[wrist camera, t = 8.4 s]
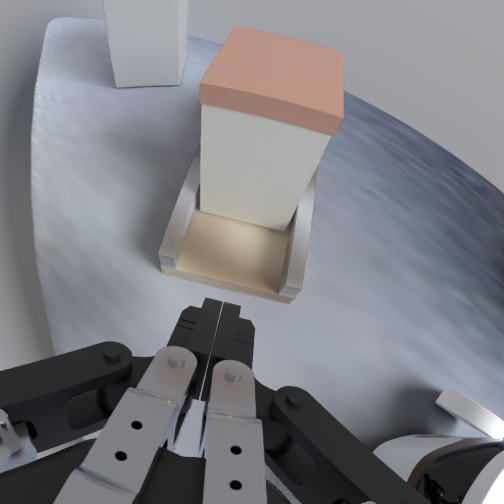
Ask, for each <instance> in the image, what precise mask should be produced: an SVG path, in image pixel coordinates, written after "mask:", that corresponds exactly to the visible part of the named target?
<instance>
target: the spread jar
mask: <svg viewBox="0 0 504 504" xmlns="http://www.w3.org/2000/svg"><path fill="white" fill-rule="evenodd" d="M435 403H436V404H438V405H439V406H440V407H442V408H443V409H444V410H446V411H447V412H449V413H450V414H452V415H453V416H455V417H456V418H458V419H459V420H461V421H462V422H464V423H465V424H467V425H468V426H470V427H471V428H473V429H475V430H476V431H478V432H479V433H481V434H483V435H484V436H486V437H488V438H471V437H456V436H443V435H424V434H419V435H407V436H402V437H398V438H394V439H391V440H388V441H386V442H384V443H382V444H380V445H379V446H378V447H377V448H376V449H375V450H374V451H373V452H372V453H374V454H375V455H376V456H377V457H378V458H379V459H380V460H382V461H383V462H384V463H385V464H386V465H387V466H388V467H390V468H391V469H392V470H393V471H394V472H395V473H397V474H398V475H399V476H400V477H401V478H402V479H404V480H405V481H406V482H407V483H408V484H410V485H411V486H412V487H413V488H414V489H416V490H417V491H418V492H419V493H420V494H422V495H423V496H424V497H425V498H426V499H428V500H429V502H430V503H431V504H504V440H503V439H502V438H503V436H504V421H502V420H501V419H500V418H498V417H497V416H496V415H494V414H493V413H491V412H490V411H488V410H487V409H485V408H484V407H482V406H480V405H479V404H477V403H476V402H474V401H472V400H470V399H469V398H467V397H465V396H463V395H462V394H460V393H458V392H456V391H454V390H452V389H449V388H444V390H443V391H442V393H441V394H440V396H439V397H438V399H437V400H436V402H435Z"/></svg>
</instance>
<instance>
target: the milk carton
mask: <svg viewBox="0 0 504 504" xmlns="http://www.w3.org/2000/svg"><path fill="white" fill-rule="evenodd" d="M103 9H104V17H105V24H106V31H107V38H108V45H109V51H110V57H111V63H112V68H113V74H114V79H115V84H116V88H122V87H138V86H163V85H180V84H181V80H182V75H183V70H184V65H185V60H186V55H187V26H188V0H103Z"/></svg>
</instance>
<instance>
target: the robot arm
mask: <svg viewBox="0 0 504 504" xmlns="http://www.w3.org/2000/svg"><path fill="white" fill-rule="evenodd" d="M221 306H222V301H218V300H214V299H210V298H205V300H204V303H203V305H202V308H197V307H194V306H189V307H188V308H186V309H185V310H183V311H182V313H181V315H180V318H179V320H178V322H177V324H176V326H175V329H174V331H173V333H172V335H171V337H170V340H169V342H168V344H167V346H166V347H165V348H162V349H161V350H159V351H158V353H157V354H156V356H152V357H134V356H132V353H131V351H130V349H129V348H128V347H126V346H125V345H123V344H121V343H118V342H112V341H108V342H102V343H99V344H96V345H92V346H89V347H86V348H82V349H79V350H75V351H72V352H68V353H65V354H61V355H58V356H54V357H51V358H47V359H44V360H40V361H37V362H33V363H29V364H26V365H22V366H18V367H14V368H11V369H7V370H3V371H0V504H291V503H290V502H289V500H288V499H287V498H286V497H285V496H284V494H283V493H282V492H281V491H280V490H279V489H278V488H277V487H276V486H275V485H273V484H272V483H271V482H269V481H268V480H266V479H265V463H266V464H267V466H268V467H269V468H270V469H271V470H272V471H273V473H274V474H275V475H276V476H277V477H278V478H279V479H280V480H281V482H282V483H283V484H284V485H285V486H286V487H287V488H288V489H289V491H290V492H291V493H292V494H293V495H294V496H295V497H296V498H297V499H298V500H299V501H300V502H301V503H302V504H431V503H430V502H429V500H428V499H426V498H425V497H424V496H423V495H422V494H420V493H419V492H418V491H417V490H416V489H414V488H413V487H412V486H411V485H410V484H408V483H407V482H406V481H405V480H404V479H402V478H401V477H400V476H399V475H398V474H397V473H395V472H394V471H393V470H392V469H391V468H390V467H388V466H387V465H386V464H385V463H384V462H383V461H382V460H380V459H379V458H378V457H377V456H376V455H375V454H374V453H372V452H371V451H370V450H369V449H368V448H367V447H366V446H365V445H364V444H362V443H361V442H360V441H359V440H358V439H357V438H356V437H355V436H354V435H353V434H351V433H350V432H349V431H348V430H347V429H346V428H345V427H344V426H343V425H342V424H341V423H340V422H338V421H337V420H336V419H335V418H334V417H333V416H332V415H331V414H330V413H329V412H328V411H327V410H326V409H325V408H324V407H323V406H322V405H321V404H319V403H318V402H317V401H316V400H315V399H314V398H313V397H312V396H311V395H310V394H309V393H308V392H306V391H305V390H303V389H301V388H298V387H294V386H285V387H282V388H280V389H278V390H277V391H274V390H272V389H270V388H268V387H266V386H264V385H262V384H261V383H260V382H258V381H257V380H256V378H255V377H254V374H253V371H252V361H253V348H254V335H255V328H254V326H253V324H252V322H251V320H247V319H243V318H239V315H240V308H241V306H239V305H235V304H231V303H226V302H224V304H223V307H222V311H221V315H220V310H221ZM219 315H220V319H219ZM218 319H219V323H218ZM217 324H218V327H217ZM216 328H217V331H216ZM215 332H216V335H215ZM214 337H215V339H214ZM213 341H214V343H213ZM212 345H213V346H212ZM211 349H212V350H211ZM210 353H211V354H210ZM209 357H210V359H209ZM208 361H209V363H208ZM207 365H208V368H207ZM206 369H207V372H206ZM205 373H206V377H205V382H204V386H203V391H202V395H201V401H205V406H204V411H203V415H202V420H201V429H200V437H199V446H198V455H197V457H183V456H180V455H178V454H176V453H174V449H175V446H176V444H177V441H178V439H179V436H180V433H181V431H182V428H183V425H184V423H185V420H186V418H187V415H188V411H189V409H190V407H191V404H192V401H193V399H196V400H199V396H200V392H201V388H202V384H203V380H204V376H205ZM93 390H94V391H93ZM90 391H91V392H90ZM87 392H88V393H87ZM79 395H80V396H79ZM76 396H77V397H76ZM73 397H74V398H73ZM101 429H103V430H102V431H101V433H100V435H99V436H98V438H94V439H89V440H85V441H82V442H80V443H77V444H75V445H73V446H70V447H68V448H65V449H63V450H60V451H58V452H56V453H53V454H51V455H48V456H45V457H43V458H40V459H38V460H36V457H37V453H39V452H42V451H45V450H48V449H51V448H54V447H56V446H59V445H62V444H64V443H67V442H70V441H73V440H75V439H78V438H80V437H83V436H86V435H88V434H91V433H93V432H96V431H98V430H101Z"/></svg>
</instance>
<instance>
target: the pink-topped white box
mask: <svg viewBox="0 0 504 504" xmlns="http://www.w3.org/2000/svg"><path fill="white" fill-rule="evenodd" d="M199 103H200V104H202V113H201V157H200V211H202V212H206V213H211V214H215V215H219V216H223V217H227V218H231V219H235V220H240V221H244V222H248V223H252V224H256V225H260V226H264V227H268V228H272V229H276V230H280V231H284V232H285V230H286V228H287V226H288V224H289V222H290V220H291V218H292V216H293V214H294V212H295V210H296V208H297V206H298V204H299V202H300V200H301V198H302V196H303V194H304V192H305V189H306V187H307V185H308V183H309V181H310V179H311V177H312V175H313V173H314V171H315V169H316V167H317V165H318V163H319V161H320V159H321V157H322V155H323V153H324V151H325V149H326V147H327V145H328V142H329V140H330V138H331V136H335V134H336V132H337V130H338V128H339V126H340V124H341V122H342V120H343V114H344V89H343V53H342V52H339V51H335V50H332V49H329V48H326V47H323V46H319V45H316V44H312V43H309V42H305V41H301V40H298V39H293V38H290V37H285V36H282V35H278V34H273V33H269V32H264V31H259V30H253V29H249V28H243V27H237V26H235V27H234V28H233V30H232V32H231V33H230V34H229V36H228V37H227V39H226V41H225V42H224V44H223V45H222V47H221V48H220V50H219V51H218V53H217V55H216V56H215V58H214V60H213V61H212V63H211V65H210V66H209V68H208V70H207V71H206V73H205V75H204V76H203V78H202V80H201V81H200V89H199Z"/></svg>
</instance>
